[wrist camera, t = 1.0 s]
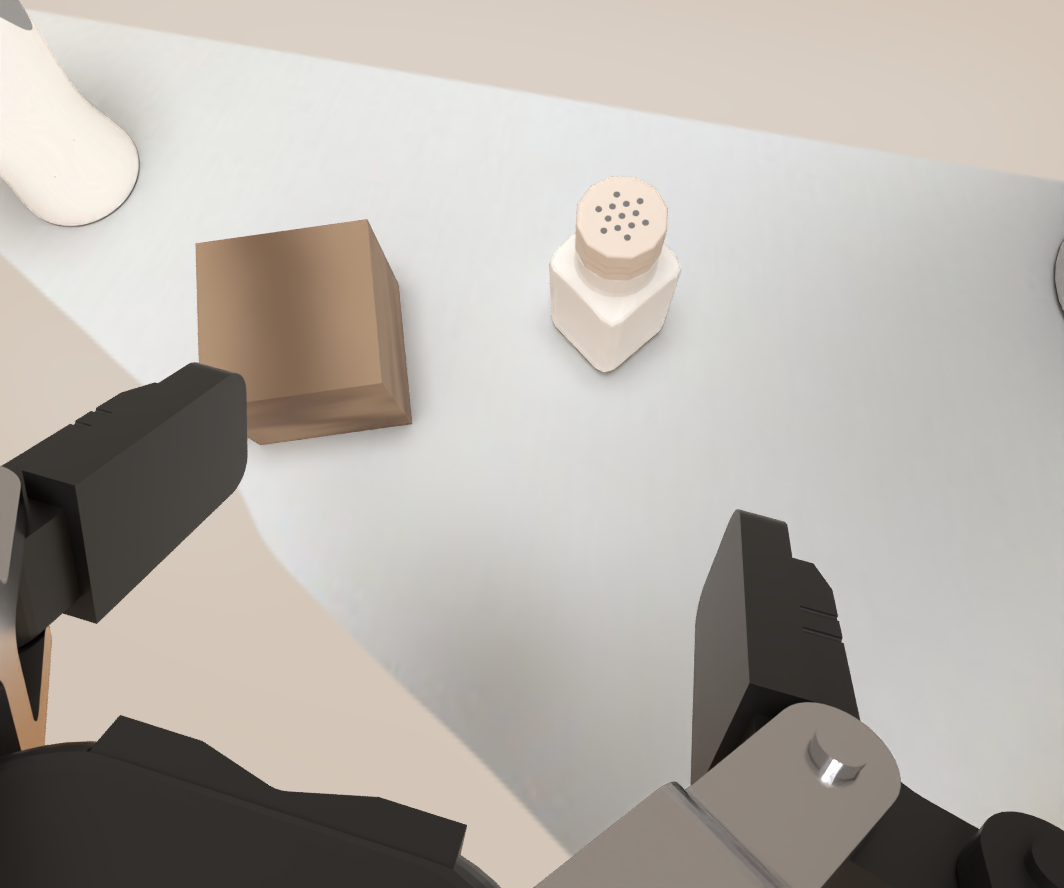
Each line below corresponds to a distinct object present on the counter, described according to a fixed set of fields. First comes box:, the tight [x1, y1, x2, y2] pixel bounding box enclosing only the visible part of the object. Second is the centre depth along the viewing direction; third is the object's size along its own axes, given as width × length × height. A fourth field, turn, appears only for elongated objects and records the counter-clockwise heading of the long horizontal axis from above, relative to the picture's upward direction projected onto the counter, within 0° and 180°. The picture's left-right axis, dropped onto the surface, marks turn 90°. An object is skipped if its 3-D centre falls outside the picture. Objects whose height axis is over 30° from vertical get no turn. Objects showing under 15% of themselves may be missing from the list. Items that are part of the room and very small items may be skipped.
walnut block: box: [196, 219, 412, 445], centre depth 32 cm, size 7×7×6 cm
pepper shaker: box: [549, 176, 681, 373], centre depth 30 cm, size 4×4×10 cm
